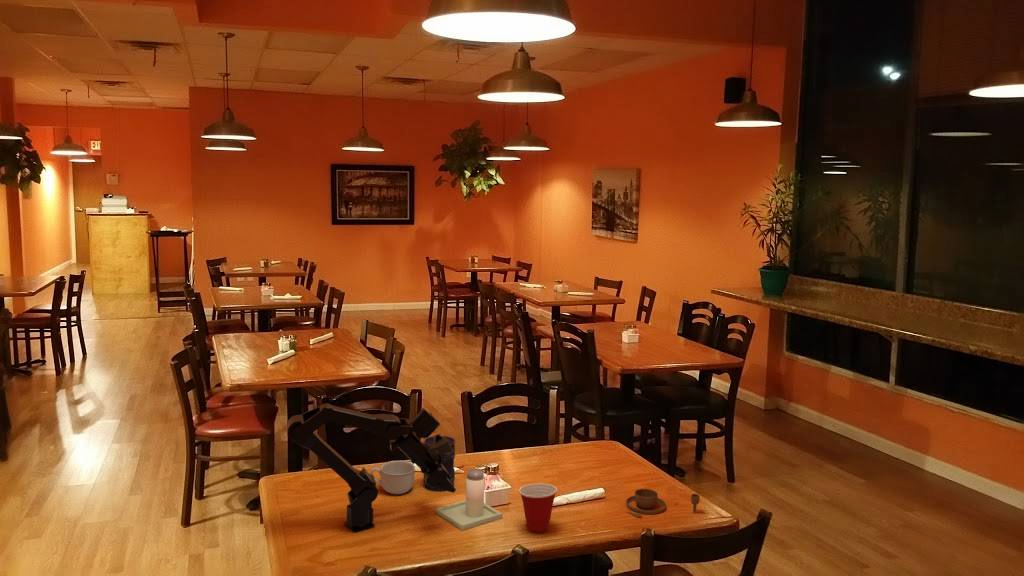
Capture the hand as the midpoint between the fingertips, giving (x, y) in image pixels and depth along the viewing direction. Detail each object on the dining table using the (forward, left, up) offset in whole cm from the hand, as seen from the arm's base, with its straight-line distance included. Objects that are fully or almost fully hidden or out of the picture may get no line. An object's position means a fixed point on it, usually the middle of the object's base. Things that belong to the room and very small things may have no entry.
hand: (452, 485), depth 224 cm
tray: (+5, -2, -10) cm, 11 cm away
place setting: (+54, -31, -11) cm, 63 cm away
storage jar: (+10, +22, -10) cm, 26 cm away
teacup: (-4, +27, -10) cm, 29 cm away
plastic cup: (+16, -20, -10) cm, 27 cm away
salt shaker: (+6, -3, -9) cm, 11 cm away
